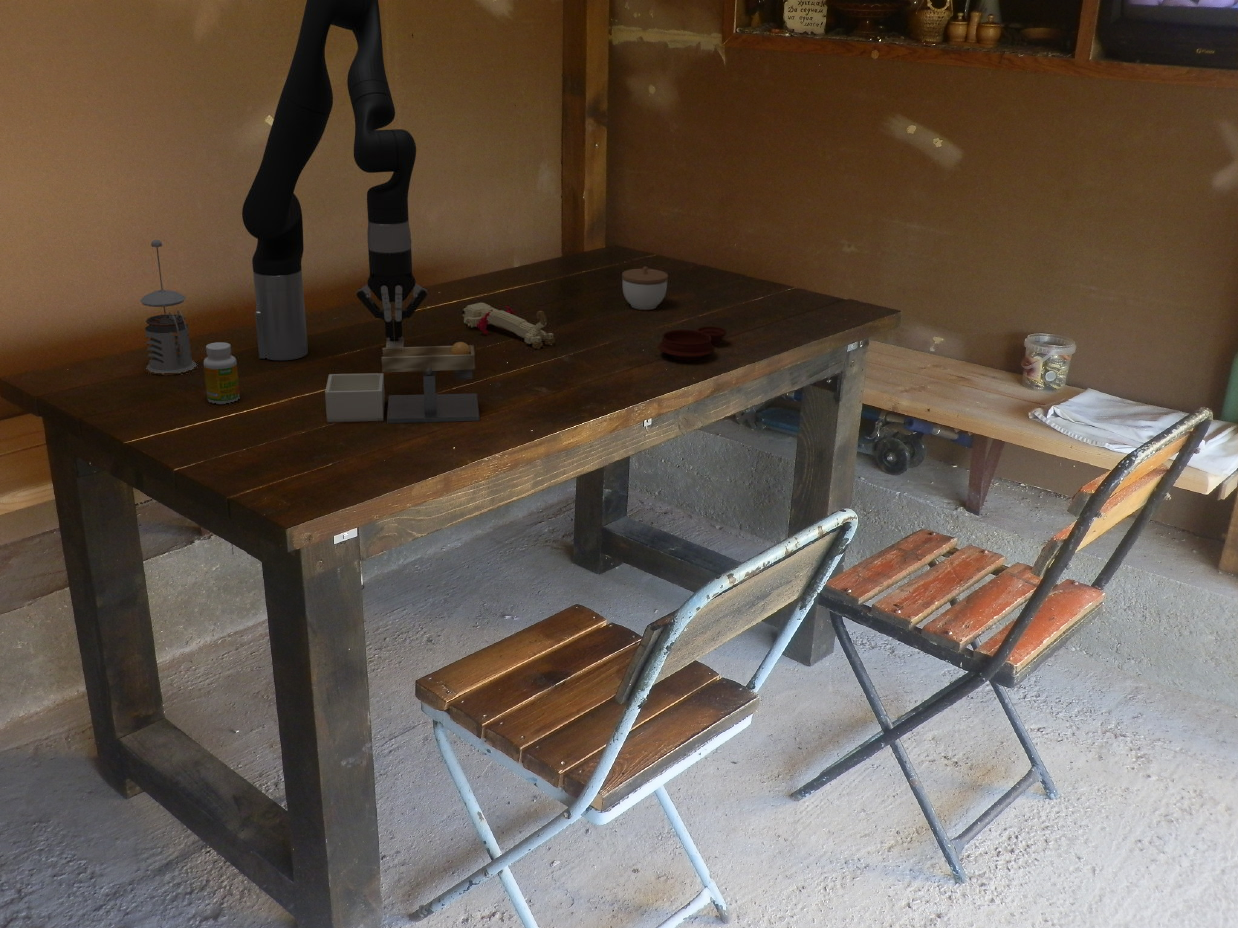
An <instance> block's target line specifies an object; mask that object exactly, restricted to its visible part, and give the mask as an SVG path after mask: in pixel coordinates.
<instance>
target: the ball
mask: <svg viewBox="0 0 1238 928" xmlns="http://www.w3.org/2000/svg"><path fill="white" fill-rule="evenodd" d="M451 346H452V348H451V355H464V354H470V353H471V351H470V348H469V346H468V344H467V343H465V341H457V342H455V343H454V344H453V345H451Z"/></svg>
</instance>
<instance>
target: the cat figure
mask: <svg viewBox="0 0 1238 928" xmlns="http://www.w3.org/2000/svg"><path fill="white" fill-rule="evenodd" d="M504 307H505V309H506V311H505V310H500V309H497V308H494V307H492V306H491V305H490V304H487V303H485V302H476V303H473V304H468V305H466V307H465V308H462V311H461V312H462V313H461V314H462V317H463V323H464V324H466V325H467V326H468V327H470V328H472V329H473V328H478V329H479V330H480V331H481V333H482V334H484V335H486V336H487V335H490V333H488V330H487V327H488V326H487V325H493V326H495V327H497V328H503V329H505V330H507V331H510V332H512V333H514V334H516V335H517V336H518V337H521V338H522V339H524V342H525V344H528V345H532V346H531V347H532V348H534V349H535V350H539V349H541V348H542V347H543V346H544V344H545V345H547V346H553V345H554V344H555V342H556V338H554V333H552V332H548V333H547V332H546V331H544V330H542V328H544V327H546V326H547V325H548V319H547V316H546V315H545V312H544V311H542V310H538V311H537V312H536V314H535V315H536V316H535V317H536V319H538V320H539V321H538V322H537V323H536V324H532V323H530V322H528V321H527V320H526V319H524V318H521V317H519V316H517V315H515V311H514V309H512V307H510V306H507V305H505V306H504ZM543 341H544V342H543Z"/></svg>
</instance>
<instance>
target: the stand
mask: <svg viewBox="0 0 1238 928" xmlns="http://www.w3.org/2000/svg"><path fill="white" fill-rule="evenodd" d="M422 376H423V377H422V378H423V394H396V395H395V394H393V395H391V394H389V395H388V398H387V399H388V401H387V412H386V413H387V414H386V423H387V424H405V423H407V424H408V423H410V424H411V423H412V424H413V423H444V422H445V423H446V422H447V423H449V422H452V423H453V422H480V411H479V401H478V394H477V393H476V392H475V393H439V394H438V393H437V391H436V390H437V389H436V371H432V373H431V374H430V375H428V374H427V373H426V371H423V375H422Z"/></svg>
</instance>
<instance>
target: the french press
mask: <svg viewBox="0 0 1238 928" xmlns="http://www.w3.org/2000/svg"><path fill="white" fill-rule="evenodd" d="M150 246H151V247H152V248H156V256H157V264H158V273H159V281H160V287H161V289H160V290H159V289H158V290H155V291H152V292H150V293H148V294H145V295H144V296H143V297H142V298H141V299H140V302H141V304H142V305H143V306H145V307H152V308H153V307H154V308H163V313H164V314H158V315H157V314H156V315H153V316H151V317H147V318H146V320H145V323H146V324H147V325H146V326H145V327H144V331H145V339H149V338H150V339H149V340H147V341H146V346H148V347H147V348H146V349H147V352H150V351H151V352H150V353H148V358H151V359H149V360H148V365H146V367H147V368H146V367H145V368H146V369H148V370H149V371H150V372H154V373H162V374H164V373H181V372H186V371H188V370H192V369H194V367H196V366H197V365H198V364H197V363H196V361H194V360H193V359H192V351H191V350H192V349H191V343H190V342H191V341H190V332H189V325H188V324H187V322H186V317H185V316H183V313H182V311H181V310H180V309H177V314H175V313H174V314H173V312H171V311H169V312H168V313H167V312H166V307H173V306H177V305H180V304H182V303H184V301H185V300H186V298H187V297H186V296H185V295H183V294H182V293H180V292H177V291H175V290H169V289H164V287H163V280H162V273H161V264H160V263H161V262H160V255H159V248H161V247H163V243H162V241H160V240H159V239H154V240H152V241H151V245H150ZM166 313H167V314H166ZM176 333H177V335H175V334H176ZM176 340H177V341H176ZM149 345H150V346H149ZM177 353H179V354H177ZM196 364H197V365H196Z"/></svg>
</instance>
